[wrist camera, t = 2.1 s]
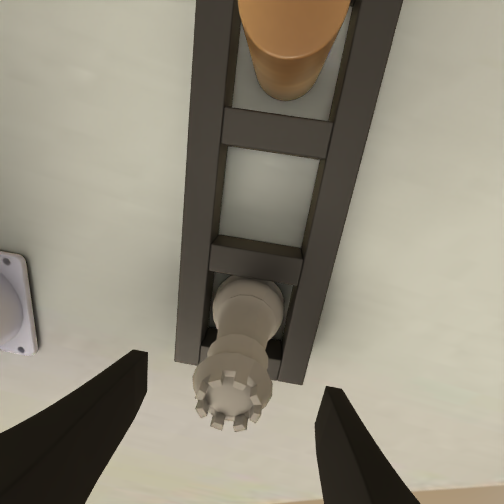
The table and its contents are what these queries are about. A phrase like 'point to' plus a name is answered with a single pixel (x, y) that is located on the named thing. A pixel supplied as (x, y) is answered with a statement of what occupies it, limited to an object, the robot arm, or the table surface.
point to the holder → (283, 142)
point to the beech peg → (290, 41)
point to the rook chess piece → (239, 352)
